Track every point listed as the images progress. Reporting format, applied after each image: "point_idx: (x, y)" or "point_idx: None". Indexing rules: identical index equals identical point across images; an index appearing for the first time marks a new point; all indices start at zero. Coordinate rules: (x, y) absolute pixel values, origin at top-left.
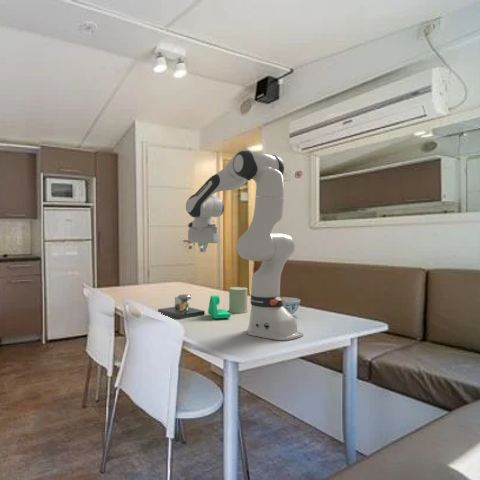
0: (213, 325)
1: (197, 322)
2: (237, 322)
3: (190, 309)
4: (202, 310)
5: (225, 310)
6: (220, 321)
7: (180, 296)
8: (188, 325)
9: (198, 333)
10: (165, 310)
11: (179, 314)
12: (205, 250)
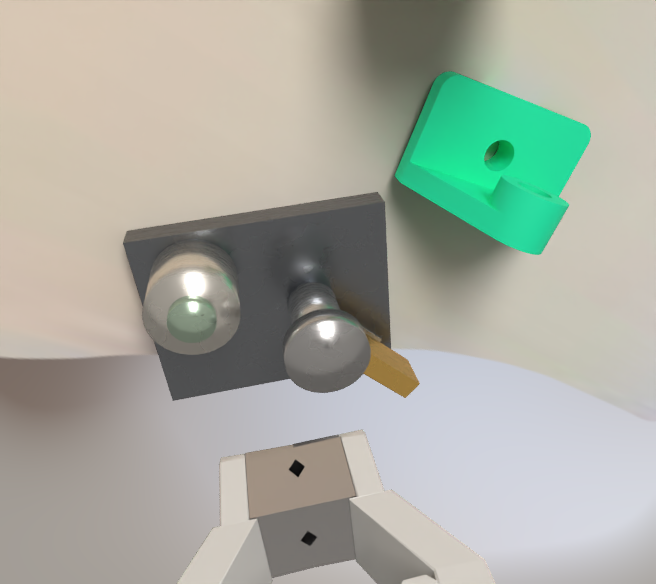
0: (599, 274)
1: (500, 306)
2: (653, 138)
3: (290, 255)
4: (366, 207)
5: (491, 89)
6: None
7: (335, 388)
8: (516, 360)
9: (640, 376)
10: (236, 381)
11: None
12: (373, 467)
